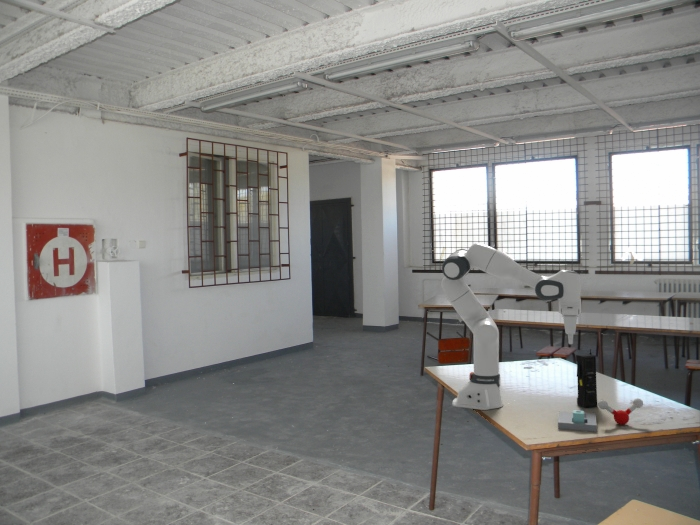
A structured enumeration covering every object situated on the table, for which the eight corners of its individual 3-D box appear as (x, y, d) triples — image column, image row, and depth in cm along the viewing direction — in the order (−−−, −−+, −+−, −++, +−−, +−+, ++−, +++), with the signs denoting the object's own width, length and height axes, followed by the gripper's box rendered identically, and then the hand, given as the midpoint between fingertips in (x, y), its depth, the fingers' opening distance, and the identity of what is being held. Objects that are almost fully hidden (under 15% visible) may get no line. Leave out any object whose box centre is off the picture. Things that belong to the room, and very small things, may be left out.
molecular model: (640, 421, 236) (640, 397, 235) (647, 426, 230) (646, 400, 230) (596, 422, 236) (595, 398, 236) (601, 427, 230) (601, 401, 230)
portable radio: (583, 408, 256) (582, 351, 255) (574, 405, 261) (573, 349, 261) (598, 407, 258) (597, 350, 257) (589, 403, 264) (588, 348, 263)
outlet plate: (558, 428, 230) (557, 421, 230) (559, 417, 245) (558, 410, 245) (596, 431, 225) (596, 424, 225) (595, 419, 240) (595, 413, 240)
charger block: (573, 428, 230) (573, 412, 230) (573, 425, 234) (573, 409, 234) (584, 429, 229) (584, 413, 229) (584, 425, 233) (583, 410, 232)
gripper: (562, 306, 255) (563, 337, 256) (561, 311, 236) (562, 345, 237) (578, 306, 253) (578, 338, 253) (578, 311, 234) (579, 346, 234)
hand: (570, 342), depth 245 cm, fingers open, 8 cm apart
